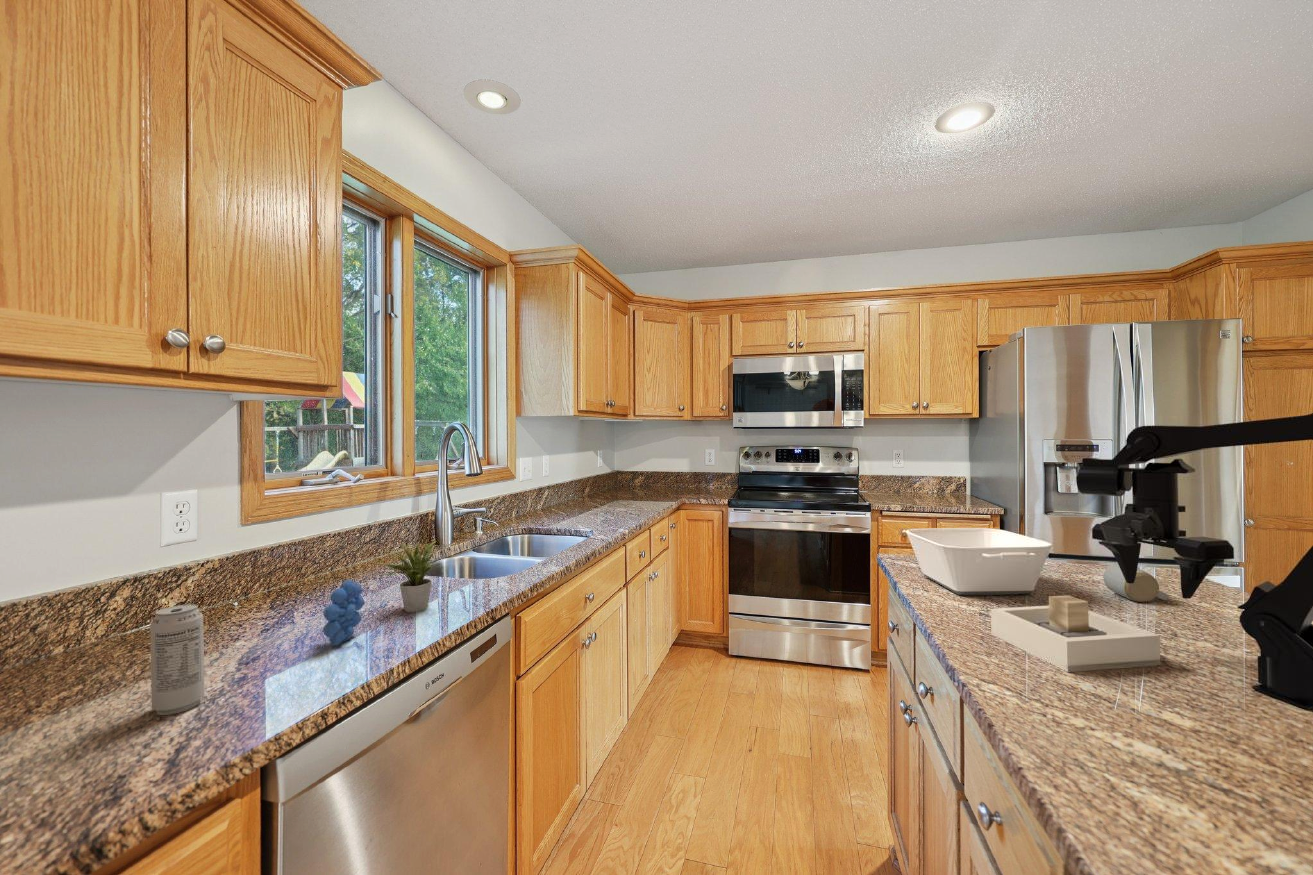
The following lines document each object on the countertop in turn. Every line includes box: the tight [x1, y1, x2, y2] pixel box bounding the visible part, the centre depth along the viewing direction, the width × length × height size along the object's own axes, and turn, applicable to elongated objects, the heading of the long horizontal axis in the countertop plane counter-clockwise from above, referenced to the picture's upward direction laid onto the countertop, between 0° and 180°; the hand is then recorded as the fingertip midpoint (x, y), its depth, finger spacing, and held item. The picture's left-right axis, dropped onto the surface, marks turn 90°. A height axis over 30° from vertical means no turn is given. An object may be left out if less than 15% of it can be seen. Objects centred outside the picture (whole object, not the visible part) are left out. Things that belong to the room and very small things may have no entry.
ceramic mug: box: [1103, 562, 1170, 603], centre depth 124 cm, size 11×8×8 cm
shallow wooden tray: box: [990, 605, 1161, 673], centre depth 96 cm, size 17×17×5 cm
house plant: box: [379, 540, 443, 613], centre depth 129 cm, size 14×14×16 cm
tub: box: [905, 527, 1053, 596], centre depth 137 cm, size 34×27×13 cm
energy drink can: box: [149, 603, 205, 716], centre depth 82 cm, size 6×6×15 cm
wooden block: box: [1048, 595, 1089, 633], centre depth 96 cm, size 4×4×8 cm
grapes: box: [322, 579, 366, 646], centre depth 108 cm, size 12×7×12 cm, turn 179°
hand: (1157, 590), depth 90 cm, fingers open, 9 cm apart
